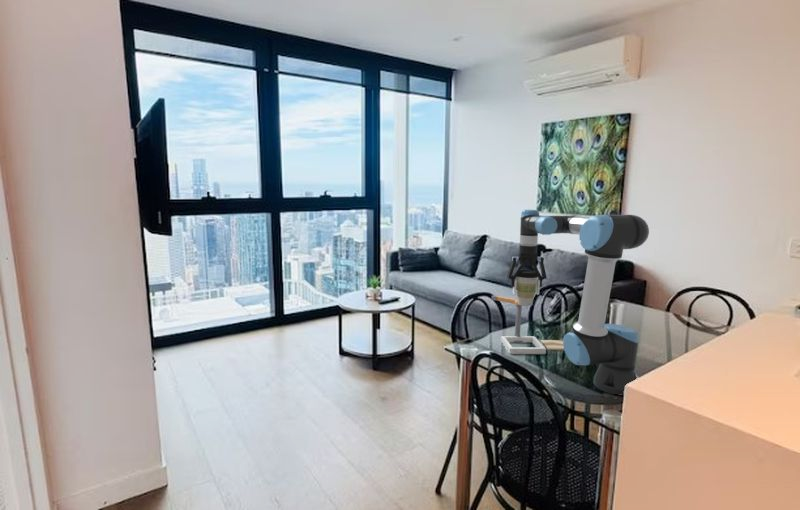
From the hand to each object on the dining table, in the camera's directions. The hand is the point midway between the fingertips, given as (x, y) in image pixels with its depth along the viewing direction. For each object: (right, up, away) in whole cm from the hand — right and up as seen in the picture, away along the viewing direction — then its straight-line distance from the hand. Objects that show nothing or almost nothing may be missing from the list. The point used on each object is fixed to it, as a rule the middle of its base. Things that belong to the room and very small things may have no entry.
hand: (525, 294), depth 202 cm
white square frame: (0, -25, +6) cm, 25 cm away
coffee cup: (0, -5, +1) cm, 5 cm away
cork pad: (+17, -25, +7) cm, 30 cm away
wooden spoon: (-5, -5, +13) cm, 15 cm away
